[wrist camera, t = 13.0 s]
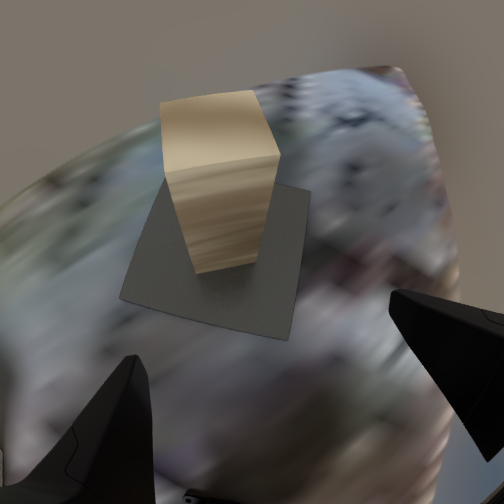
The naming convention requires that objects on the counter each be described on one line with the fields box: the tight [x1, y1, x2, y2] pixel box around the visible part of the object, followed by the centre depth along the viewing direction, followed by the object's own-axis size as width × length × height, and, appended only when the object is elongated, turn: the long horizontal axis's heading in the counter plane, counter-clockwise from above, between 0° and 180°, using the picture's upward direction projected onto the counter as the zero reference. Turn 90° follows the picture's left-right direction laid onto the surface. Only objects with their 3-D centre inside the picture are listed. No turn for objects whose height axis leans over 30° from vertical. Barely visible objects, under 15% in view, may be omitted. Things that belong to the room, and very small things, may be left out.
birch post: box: [160, 90, 281, 274], centre depth 19 cm, size 5×5×13 cm
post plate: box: [119, 176, 310, 341], centre depth 23 cm, size 14×14×4 cm
